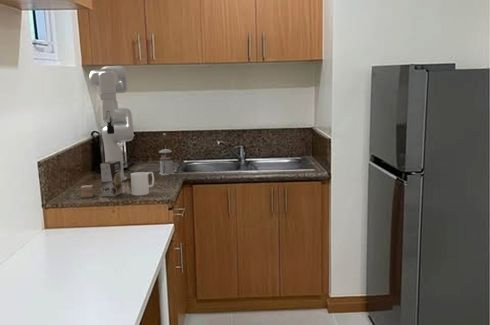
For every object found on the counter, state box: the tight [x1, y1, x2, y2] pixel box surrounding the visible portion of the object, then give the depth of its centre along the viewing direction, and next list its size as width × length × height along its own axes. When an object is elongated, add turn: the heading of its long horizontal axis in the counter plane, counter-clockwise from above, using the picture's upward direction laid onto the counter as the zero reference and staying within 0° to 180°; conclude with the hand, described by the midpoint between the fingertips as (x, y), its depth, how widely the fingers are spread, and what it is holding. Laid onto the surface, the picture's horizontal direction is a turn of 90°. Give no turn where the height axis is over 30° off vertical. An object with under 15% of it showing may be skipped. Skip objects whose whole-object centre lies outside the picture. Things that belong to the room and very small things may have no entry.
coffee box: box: [100, 161, 123, 197], centre depth 229 cm, size 9×6×16 cm
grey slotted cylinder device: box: [158, 132, 176, 176], centre depth 286 cm, size 10×12×25 cm
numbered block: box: [80, 184, 95, 199], centre depth 228 cm, size 5×5×5 cm
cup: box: [130, 171, 155, 196], centre depth 231 cm, size 8×12×10 cm
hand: (110, 133), depth 237 cm, fingers closed
